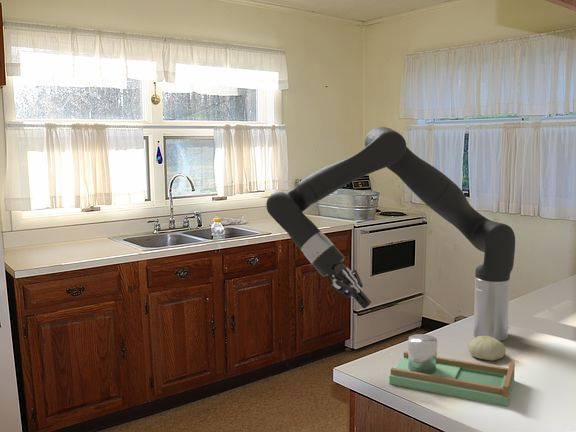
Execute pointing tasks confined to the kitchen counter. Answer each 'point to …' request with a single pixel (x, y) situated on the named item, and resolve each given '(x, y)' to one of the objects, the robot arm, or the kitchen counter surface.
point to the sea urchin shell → (487, 348)
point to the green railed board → (459, 380)
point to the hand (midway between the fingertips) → (367, 305)
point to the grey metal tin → (422, 353)
